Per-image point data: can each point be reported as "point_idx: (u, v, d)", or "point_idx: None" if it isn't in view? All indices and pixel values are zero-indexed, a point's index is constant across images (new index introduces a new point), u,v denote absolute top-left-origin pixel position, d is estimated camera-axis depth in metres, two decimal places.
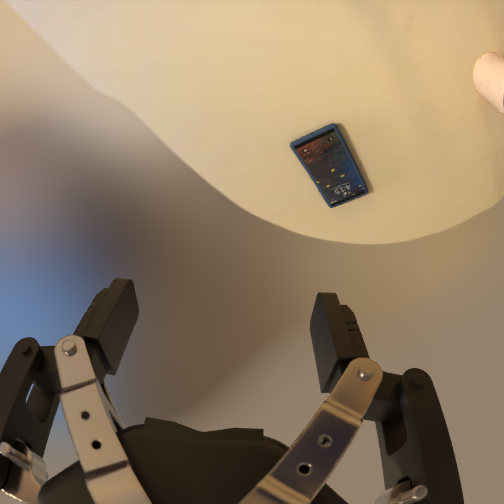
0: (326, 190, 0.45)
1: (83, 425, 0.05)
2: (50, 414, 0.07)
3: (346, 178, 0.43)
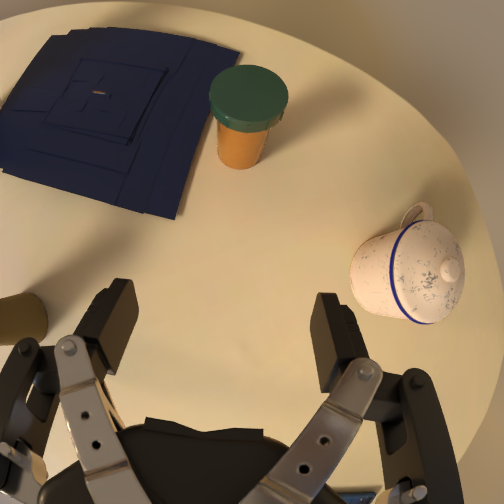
0: None
1: (83, 425, 0.05)
2: (50, 414, 0.07)
3: None
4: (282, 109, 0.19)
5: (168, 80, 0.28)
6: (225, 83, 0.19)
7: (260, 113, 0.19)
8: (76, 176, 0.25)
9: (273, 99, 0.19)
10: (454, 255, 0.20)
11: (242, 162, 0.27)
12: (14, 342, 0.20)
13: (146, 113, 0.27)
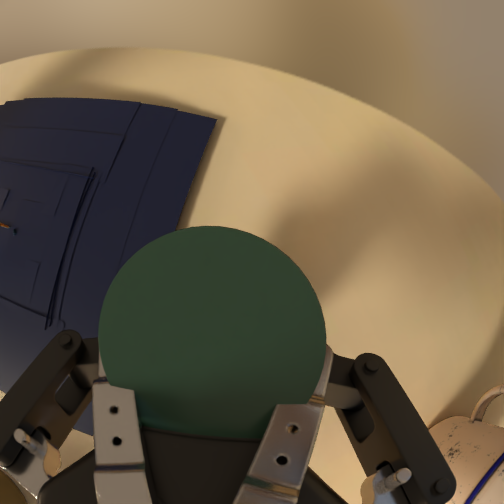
0: None
1: (109, 419, 0.05)
2: (79, 408, 0.08)
3: None
4: (308, 396, 0.06)
5: (95, 195, 0.17)
6: (134, 317, 0.07)
7: (244, 423, 0.06)
8: None
9: (281, 367, 0.07)
10: None
11: None
12: None
13: (65, 267, 0.16)
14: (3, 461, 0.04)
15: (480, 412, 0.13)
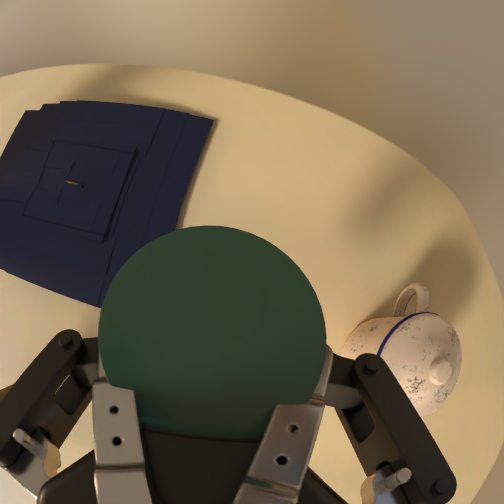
0: None
1: (109, 419, 0.05)
2: (79, 408, 0.08)
3: None
4: (308, 396, 0.06)
5: (139, 164, 0.29)
6: (134, 316, 0.07)
7: (243, 423, 0.06)
8: (58, 275, 0.25)
9: (281, 367, 0.07)
10: (447, 350, 0.17)
11: None
12: None
13: (118, 205, 0.28)
14: (3, 461, 0.04)
15: (402, 311, 0.25)
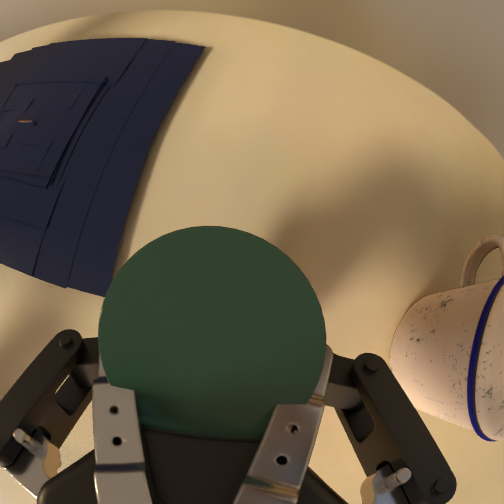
0: None
1: (109, 419, 0.05)
2: (80, 408, 0.08)
3: None
4: (308, 396, 0.06)
5: (106, 92, 0.19)
6: (134, 317, 0.07)
7: (243, 423, 0.06)
8: None
9: (281, 367, 0.07)
10: None
11: None
12: None
13: (74, 140, 0.18)
14: (3, 461, 0.04)
15: (470, 281, 0.15)
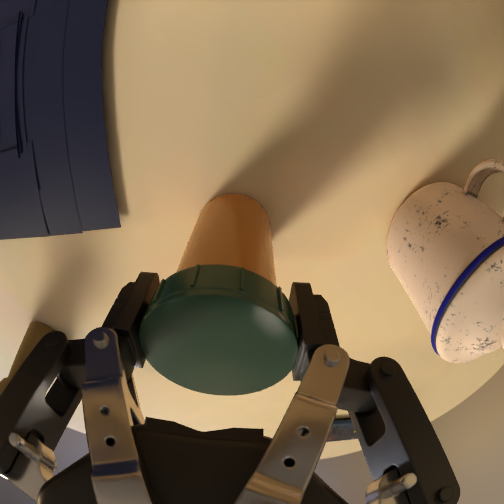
0: None
1: (100, 420, 0.05)
2: (70, 409, 0.07)
3: None
4: (288, 371, 0.11)
5: (28, 28, 0.09)
6: (164, 349, 0.10)
7: (250, 384, 0.11)
8: None
9: (268, 361, 0.10)
10: None
11: None
12: None
13: (19, 97, 0.12)
14: (0, 467, 0.03)
15: (476, 186, 0.14)
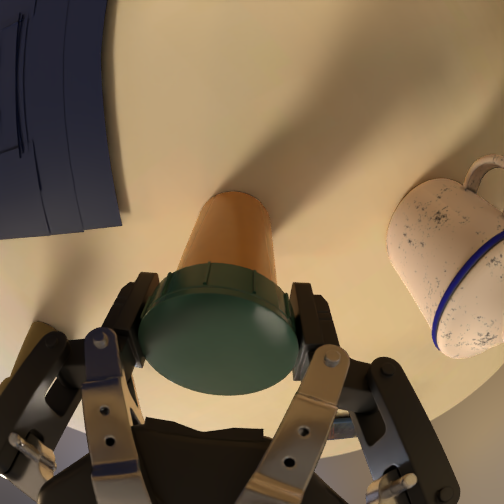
0: None
1: (100, 420, 0.05)
2: (69, 409, 0.07)
3: None
4: (255, 303, 0.09)
5: (28, 30, 0.10)
6: (208, 382, 0.11)
7: (276, 339, 0.09)
8: None
9: (229, 321, 0.09)
10: None
11: None
12: None
13: (20, 98, 0.12)
14: (0, 467, 0.03)
15: (475, 182, 0.14)
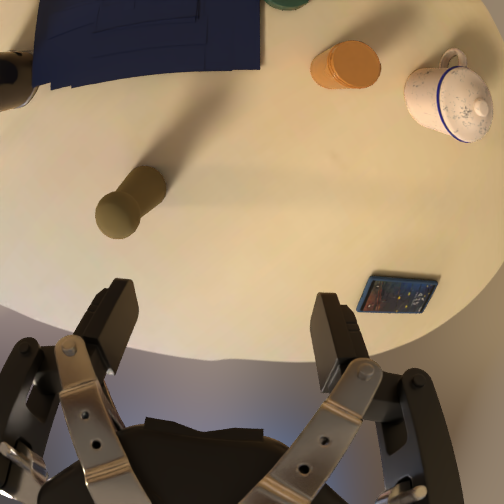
0: (407, 309, 0.46)
1: (83, 425, 0.05)
2: (50, 414, 0.07)
3: (413, 292, 0.44)
4: None
5: None
6: None
7: None
8: (157, 60, 0.26)
9: None
10: (484, 96, 0.19)
11: None
12: (147, 211, 0.33)
13: None
14: None
15: (445, 67, 0.24)
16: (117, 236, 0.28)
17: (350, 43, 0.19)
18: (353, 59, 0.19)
